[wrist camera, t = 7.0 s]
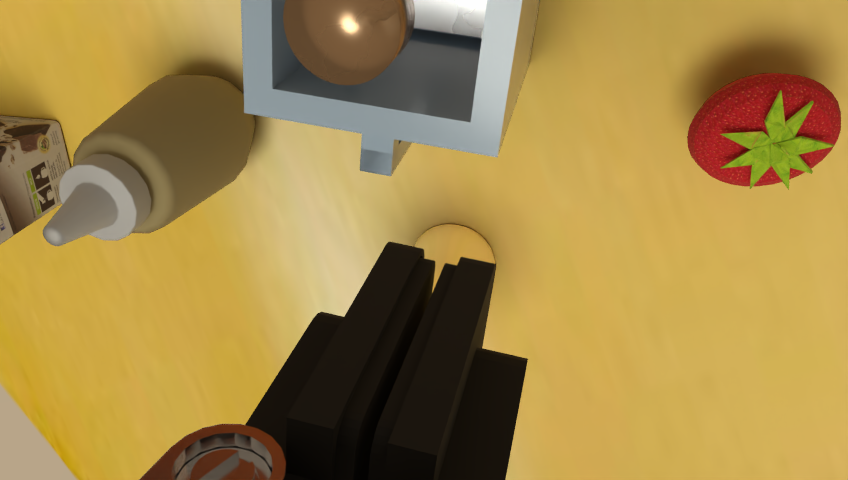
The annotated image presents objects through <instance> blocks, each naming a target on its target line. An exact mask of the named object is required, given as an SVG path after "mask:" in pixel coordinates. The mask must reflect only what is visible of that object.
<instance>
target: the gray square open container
mask: <svg viewBox="0 0 848 480" xmlns="http://www.w3.org/2000/svg"><path fill="white" fill-rule="evenodd" d="M539 3H540V0H487V4H486V11H485V19H484V26H483V34H482V38H480V37H473V36H467V35H460V34H453V33H447V32H440V31H434V30H427V29H421V28H413V32H412V35H411V37H410V40H409V42H408V43H407V45H406V47H405V48H404V49H403V50H402V52H401V53H400V54H399V55H398V56H397V57H396V58H395V59H394V60H393V61H392V63H391V64H390V65H389V66H388V67H387V68H386V69H385V70H384V71H383V72H382V73H381V74H380V75H378V76H377V77H375V78H374V79H372V80H370V81H368V82H365V83H362V84H357V85H338V84H334V83H330V82H327V81H325V80H323V79H321V78H319V77H317V76H316V75H314V74H313V73H311V72H310V71H309V70H308V69H306V68H305V67H304V66H303V65H302V64H301V62H300V61H299V60H298V59H297V57H296V56H295V54H294V53H293V51H292V49H291V47H290V45H289V43H288V41H287V37H286V34H285V29H284V22H283V12H284V4H285V0H241V18H242V51H243V84H244V113H248V114H253V115H259V116H265V117H270V118H276V119H282V120H288V121H293V122H299V123H305V124H310V125H316V126H322V127H327V128H333V129H339V130H345V131H350V132H356V133H362V142H361V159H360V171H365V172H370V173H376V174H381V175H387V176H391V175H392V174H393V172H394V170H395V169H396V167H397V166H398V164H399V163H400V161H401V159H402V158H403V156H404V155H405V153H406V151H407V150H408V148H409V147H410V145H411V143H412V142H413V143H419V144H424V145H430V146H436V147H441V148H447V149H453V150H459V151H464V152H470V153H476V154H481V155H487V156H493V157H498V154H499V151H500V148H501V146H502V143H503V140H504V137H505V134H506V131H507V128H508V125H509V122H510V119H511V116H512V113H513V110H514V107H515V104H516V101H517V98H518V96H519V93H520V90H521V87H522V84H523V81H524V78H525V75H526V72H527V69H528V66H529V62H530V56H531V50H532V44H533V38H534V32H535V26H536V20H537V14H538V9H539Z"/></svg>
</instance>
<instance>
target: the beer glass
mask: <svg viewBox="0 0 848 480" xmlns="http://www.w3.org/2000/svg"><path fill="white" fill-rule="evenodd" d="M414 247H417V248H422V249H424V258H425V259H429V260H434V261H435V274H434V282H433V290H434V288H435V286H436V283H437V281H438V278H439V276H440V274H441V271H442V269H443V267H444V264H445V263H448V264H453V265H457V264H458V262H459V259H460V257H465V258H470V259H475V260H480V261H484V262H489V263H494V264H495V259H494V255H493V252H492V249H491V247H490V246H489V244H488V243H487V241H486V240H485V239H484V238H483V237H482V236H481V235H479V234H478V233H477V232H475V231H474V230H472V229H470V228H467V227H465V226H461V225H456V224H443V225H438V226H435V227H433V228H431V229H429V230H427V231H426V232H424V233H423V234H422V235H421V236H420V237H419V239H418V240H417V242H416V243H415V246H414ZM433 290H432V293H433Z"/></svg>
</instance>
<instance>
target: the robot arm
mask: <svg viewBox="0 0 848 480" xmlns="http://www.w3.org/2000/svg"><path fill="white" fill-rule="evenodd" d="M495 270H496V264H494V263H489V262H484V261H480V260H475V259H470V258H465V257H460V259H459V262H458V264H457V265H453V264H448V263H445V264H444V267H443V269H442V271H441V274H440V276H439V278H438V281H437V283H436V286H435V288H434V290H433V282H434V274H435V261H434V260H429V259H425V258H424V249H422V248H417V247H413V246H408V245H403V244H398V243H394V242H388V243H387V244H386V246H385V248H384V249H383V251H382V253H381V255H380V256H379V258H378V260H377V261H376V263H375V265H374V267H373V268H372V270H371V272H370V274H369V275H368V277H367V279H366V280H365V282H364V284H363V286H362V287H361V289H360V291H359V293H358V294H357V296H356V298H355V299H354V301H353V303H352V305H351V306H350V308H349V310H348V312H347V313H346V315H345V317H342V316H337V315H333V314H329V313H324V312H320V313H318V314H317V315H316V316H315V317H314V319H313V320H312V322H311V323H310V325H309V326H308V328H307V329H306V331H305V332H304V334H303V336H302V337H301V339H300V340H299V342H298V343H297V345H296V347H295V348H294V350H293V351H292V353H291V354H290V356H289V357H288V359H287V361H286V362H285V364H284V365H283V367H282V368H281V370H280V372H279V373H278V375H277V376H276V378H275V379H274V381H273V382H272V384H271V386H270V387H269V389H268V390H267V392H266V393H265V395H264V397H263V398H262V400H261V401H260V403H259V404H258V406H257V407H256V409H255V411H254V412H253V414H252V415H251V417H250V418H249V420H248V422H247V423H246V425H242V424H219V425H215V426H210V427H205V428H202V429H200V430H198V431H195V432H193V433H191V434H189V435H186V436H185V437H184V438H182V439H181V440H180V441H178V442H177V443H176V444H175V445H173V446H172V447H171V448H170V449H169V450H168V451H167V452H166V453H165V454H164V455H163V456H162V457H161V458H160V459H159V460H158V461H157V462H156V463H155V464H154V465H153V466H152V467H151V468H150V469H149V470H148V471H147V472H146V473H145V474H144V475H143V476H142V478H141V479H140V480H505V478H506V473H507V467H508V462H509V457H510V451H511V446H512V441H513V435H514V430H515V425H516V419H517V414H518V409H519V403H520V398H521V393H522V387H523V382H524V377H525V371H526V366H527V360H528V359H526V358H522V357H517V356H513V355H509V354H504V353H500V352H495V351H491V350H487V349H482V345H483V340H484V334H485V328H486V322H487V317H488V311H489V305H490V299H491V294H492V288H493V282H494V276H495ZM432 290H433V293H432Z"/></svg>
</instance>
